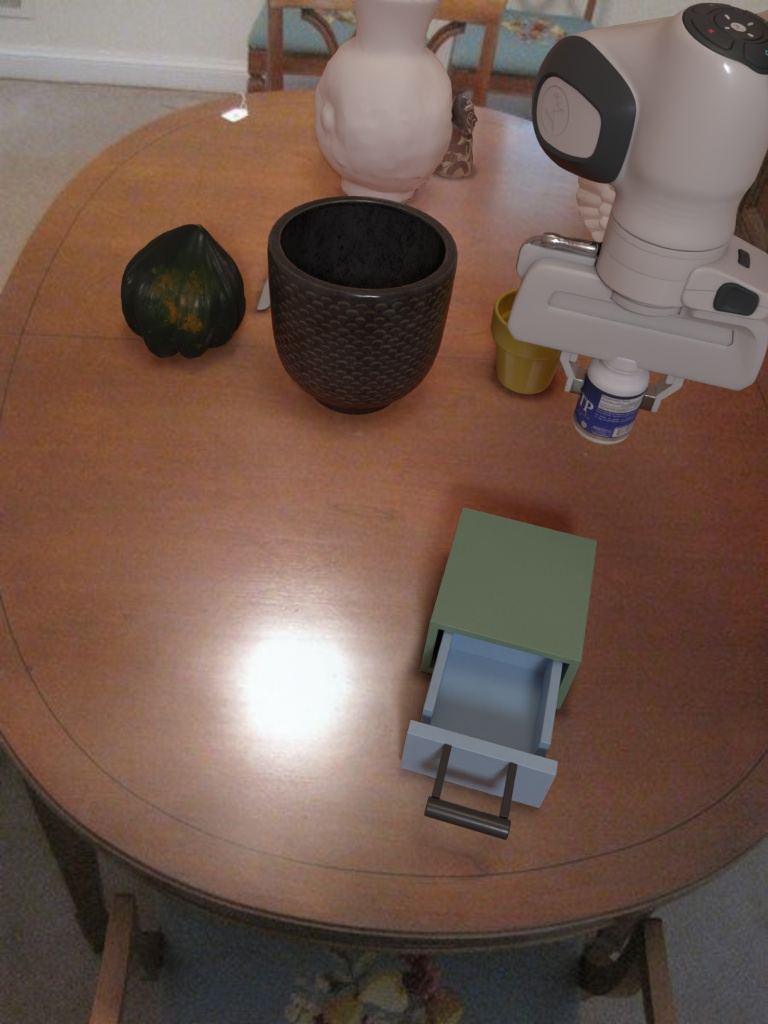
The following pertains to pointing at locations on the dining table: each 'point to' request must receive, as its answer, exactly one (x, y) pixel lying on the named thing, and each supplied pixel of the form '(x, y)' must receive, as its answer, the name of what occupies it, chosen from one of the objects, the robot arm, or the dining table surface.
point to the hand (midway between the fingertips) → (610, 398)
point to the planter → (359, 298)
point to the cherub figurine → (595, 206)
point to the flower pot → (520, 354)
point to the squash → (183, 293)
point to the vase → (385, 102)
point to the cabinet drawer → (485, 729)
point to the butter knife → (264, 297)
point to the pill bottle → (610, 400)
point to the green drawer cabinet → (515, 591)
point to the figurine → (459, 140)
